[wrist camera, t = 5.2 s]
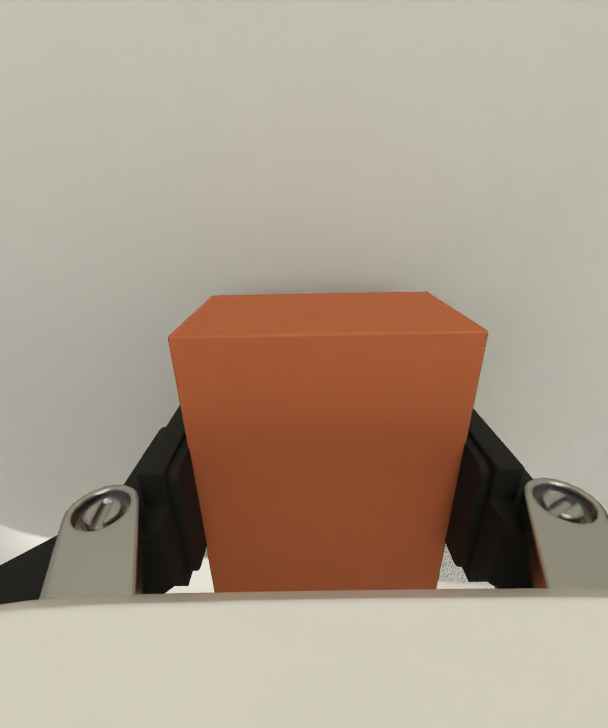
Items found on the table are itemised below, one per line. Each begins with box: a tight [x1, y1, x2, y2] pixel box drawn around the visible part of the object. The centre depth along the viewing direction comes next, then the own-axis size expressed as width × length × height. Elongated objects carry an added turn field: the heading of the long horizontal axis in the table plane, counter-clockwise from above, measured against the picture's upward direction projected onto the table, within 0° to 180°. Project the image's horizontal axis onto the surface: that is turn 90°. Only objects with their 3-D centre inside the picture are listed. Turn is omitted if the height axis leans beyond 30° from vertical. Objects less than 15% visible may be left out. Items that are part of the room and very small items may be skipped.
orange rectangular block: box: [168, 292, 488, 593], centre depth 10 cm, size 6×8×4 cm
